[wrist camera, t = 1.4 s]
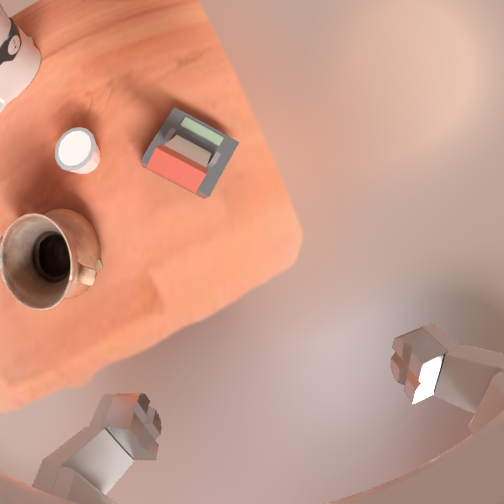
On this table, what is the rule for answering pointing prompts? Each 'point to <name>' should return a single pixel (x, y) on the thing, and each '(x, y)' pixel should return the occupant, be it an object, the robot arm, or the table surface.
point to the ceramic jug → (49, 257)
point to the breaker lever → (180, 162)
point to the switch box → (201, 137)
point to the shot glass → (77, 151)
